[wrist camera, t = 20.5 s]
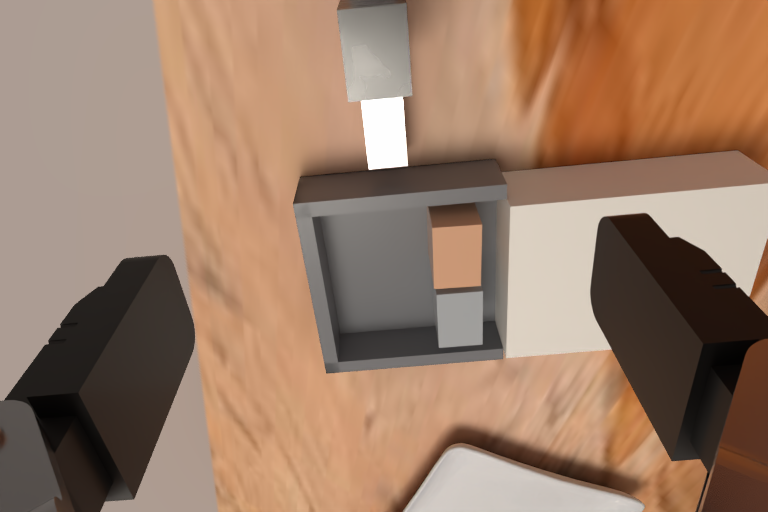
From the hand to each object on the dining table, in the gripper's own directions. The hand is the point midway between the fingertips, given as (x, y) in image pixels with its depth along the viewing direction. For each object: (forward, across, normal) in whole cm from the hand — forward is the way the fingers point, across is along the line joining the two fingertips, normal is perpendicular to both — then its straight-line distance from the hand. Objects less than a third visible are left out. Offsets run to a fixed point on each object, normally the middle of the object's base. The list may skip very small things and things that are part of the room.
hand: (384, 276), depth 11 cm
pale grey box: (+23, -5, +18) cm, 30 cm away
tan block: (+23, -5, +13) cm, 27 cm away
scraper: (+26, 0, 0) cm, 26 cm away
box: (+26, 0, +16) cm, 31 cm away
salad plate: (+27, -7, +48) cm, 55 cm away
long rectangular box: (+26, -15, +16) cm, 34 cm away
